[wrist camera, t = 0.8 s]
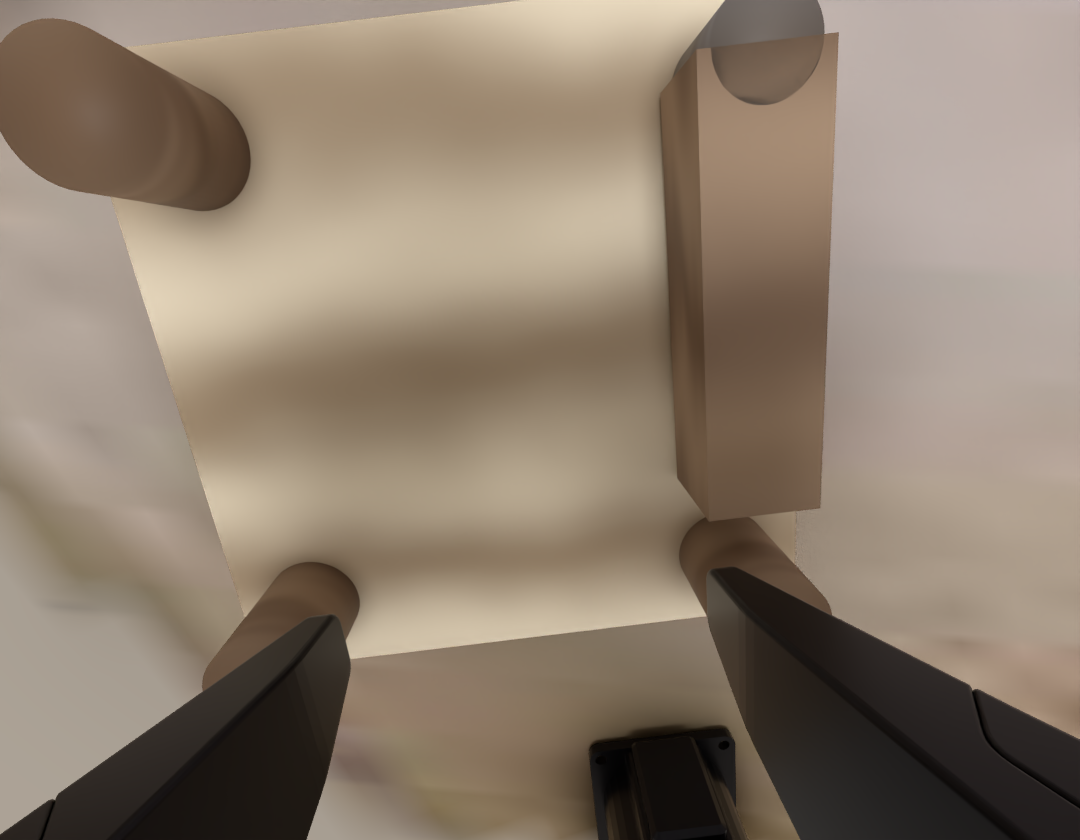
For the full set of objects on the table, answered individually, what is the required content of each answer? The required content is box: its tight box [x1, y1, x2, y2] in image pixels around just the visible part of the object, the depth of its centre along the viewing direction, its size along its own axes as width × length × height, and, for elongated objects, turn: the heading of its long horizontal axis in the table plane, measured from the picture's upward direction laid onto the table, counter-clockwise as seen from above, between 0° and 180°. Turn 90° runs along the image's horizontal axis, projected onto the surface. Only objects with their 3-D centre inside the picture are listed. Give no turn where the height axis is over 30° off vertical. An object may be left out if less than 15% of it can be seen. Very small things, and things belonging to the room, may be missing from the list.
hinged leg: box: [660, 0, 839, 522], centre depth 14 cm, size 12×3×3 cm, turn 7°
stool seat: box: [0, 0, 832, 691], centre depth 16 cm, size 19×19×7 cm
